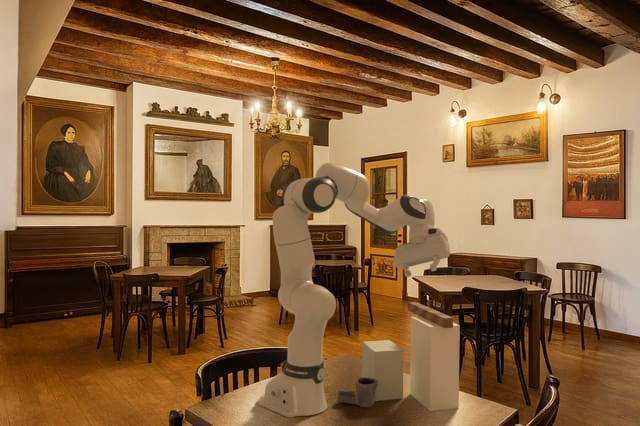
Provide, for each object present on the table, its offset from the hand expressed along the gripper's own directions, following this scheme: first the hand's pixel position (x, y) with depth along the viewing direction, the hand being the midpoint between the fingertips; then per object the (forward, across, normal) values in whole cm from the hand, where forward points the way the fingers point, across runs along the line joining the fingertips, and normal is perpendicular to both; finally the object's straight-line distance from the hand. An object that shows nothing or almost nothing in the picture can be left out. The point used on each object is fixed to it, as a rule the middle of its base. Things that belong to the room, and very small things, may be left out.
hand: (420, 273), depth 154 cm
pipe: (+40, -24, +6) cm, 47 cm away
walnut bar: (+11, -2, +10) cm, 15 cm away
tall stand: (+34, -7, +23) cm, 41 cm away
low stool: (+33, -22, +17) cm, 43 cm away
